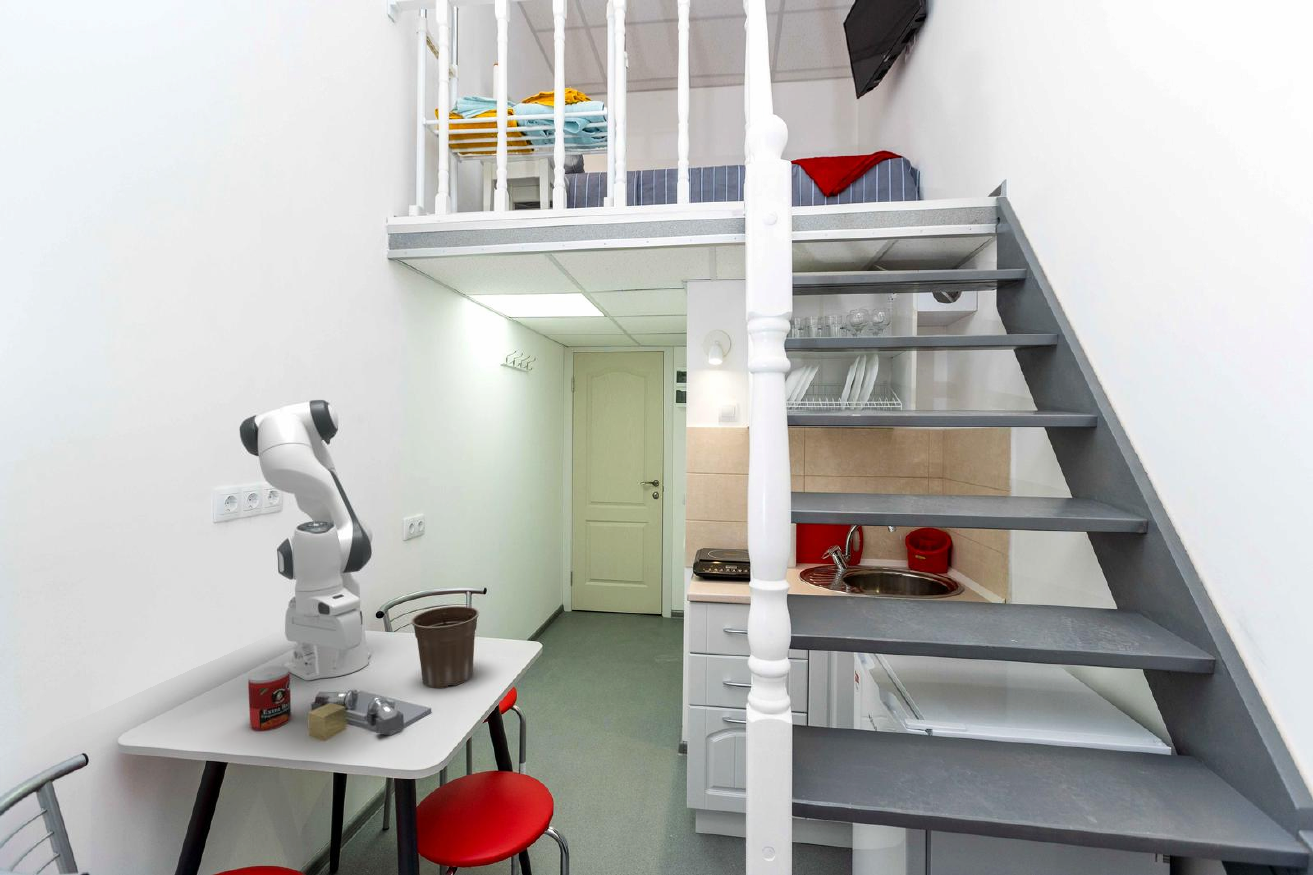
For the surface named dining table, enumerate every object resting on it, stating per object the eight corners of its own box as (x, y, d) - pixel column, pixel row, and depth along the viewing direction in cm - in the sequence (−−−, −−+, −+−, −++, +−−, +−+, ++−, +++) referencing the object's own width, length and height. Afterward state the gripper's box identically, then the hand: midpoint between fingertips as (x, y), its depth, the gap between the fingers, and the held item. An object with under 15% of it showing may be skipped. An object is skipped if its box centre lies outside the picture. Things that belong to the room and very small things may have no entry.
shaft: (311, 715, 134) (310, 694, 134) (325, 705, 139) (324, 685, 139) (346, 715, 134) (345, 695, 134) (359, 705, 138) (358, 686, 138)
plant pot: (460, 694, 145) (458, 627, 145) (399, 690, 149) (397, 624, 148) (491, 667, 161) (490, 607, 161) (436, 664, 165) (434, 605, 164)
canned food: (261, 734, 128) (259, 683, 128) (242, 725, 132) (240, 675, 132) (298, 719, 135) (296, 670, 134) (279, 711, 139) (278, 663, 139)
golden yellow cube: (308, 736, 127) (307, 712, 127) (330, 725, 132) (329, 702, 132) (324, 741, 125) (323, 717, 125) (346, 730, 130) (345, 706, 129)
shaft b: (403, 726, 128) (403, 705, 128) (380, 734, 125) (379, 712, 125) (388, 713, 134) (388, 693, 134) (366, 721, 131) (365, 700, 131)
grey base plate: (318, 714, 137) (317, 705, 137) (360, 694, 146) (360, 685, 146) (390, 735, 127) (390, 725, 127) (431, 712, 136) (431, 702, 136)
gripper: (274, 599, 129) (278, 664, 130) (337, 608, 120) (341, 678, 120) (303, 592, 135) (306, 653, 135) (365, 599, 126) (369, 666, 126)
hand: (323, 665), depth 128 cm, fingers open, 8 cm apart
